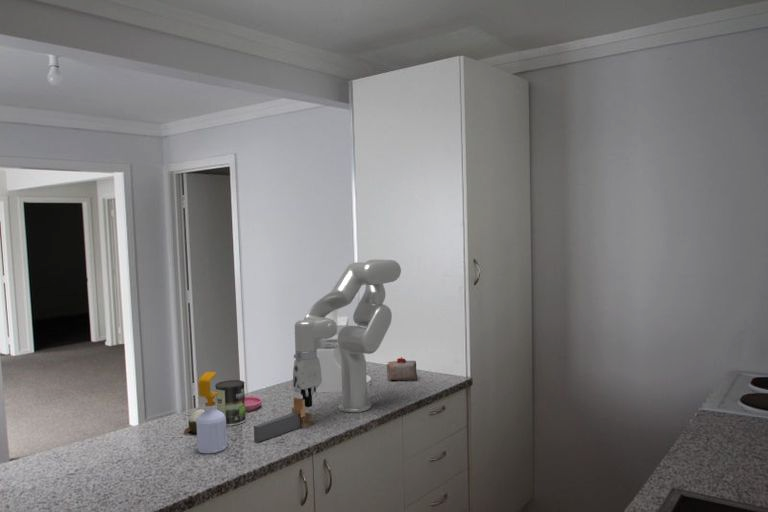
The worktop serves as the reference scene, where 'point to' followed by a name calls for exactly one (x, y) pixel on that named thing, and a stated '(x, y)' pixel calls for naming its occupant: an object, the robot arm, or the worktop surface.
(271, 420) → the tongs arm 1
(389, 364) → the food item
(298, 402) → the tan wooden block
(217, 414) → the spray bottle
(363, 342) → the robot arm
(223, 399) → the coffee can
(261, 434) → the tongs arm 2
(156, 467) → the worktop surface
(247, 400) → the saucer
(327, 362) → the coffee machine
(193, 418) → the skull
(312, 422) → the block
